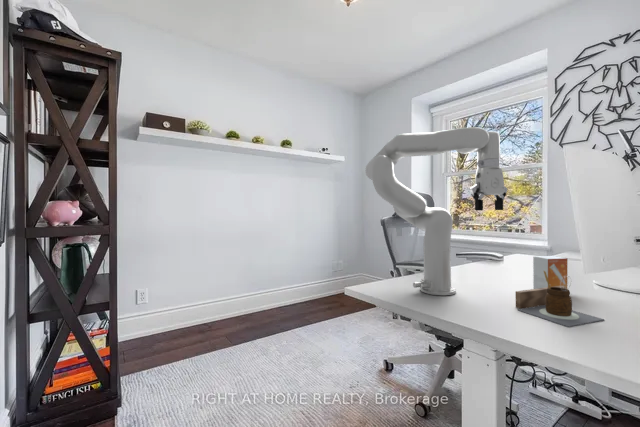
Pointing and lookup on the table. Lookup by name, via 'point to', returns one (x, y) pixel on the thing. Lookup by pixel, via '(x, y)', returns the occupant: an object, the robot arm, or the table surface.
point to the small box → (549, 271)
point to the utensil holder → (558, 300)
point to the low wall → (532, 297)
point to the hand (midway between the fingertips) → (489, 210)
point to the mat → (567, 321)
